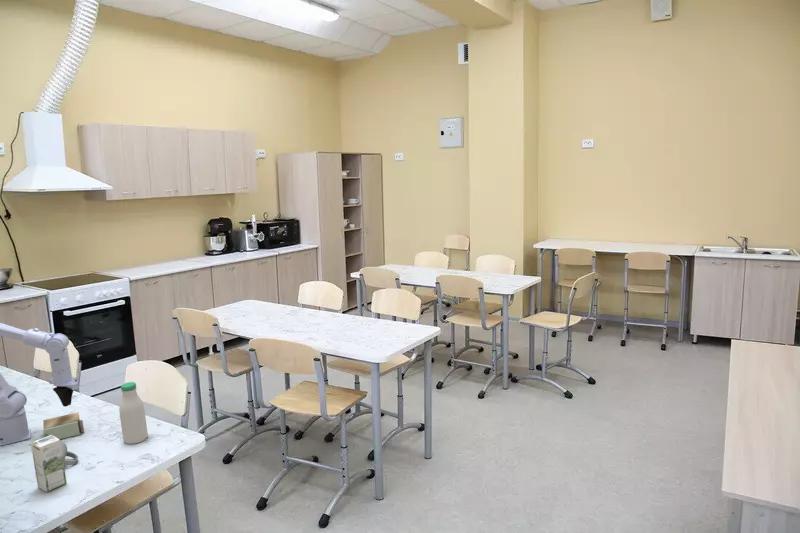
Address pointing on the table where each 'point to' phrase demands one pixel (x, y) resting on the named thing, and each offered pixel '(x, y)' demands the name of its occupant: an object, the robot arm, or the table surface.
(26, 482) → the table surface
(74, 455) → the ceramic mug
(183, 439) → the table surface
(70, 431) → the door
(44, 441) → the syrup box
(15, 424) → the robot arm
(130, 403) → the milk bottle
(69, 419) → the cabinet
